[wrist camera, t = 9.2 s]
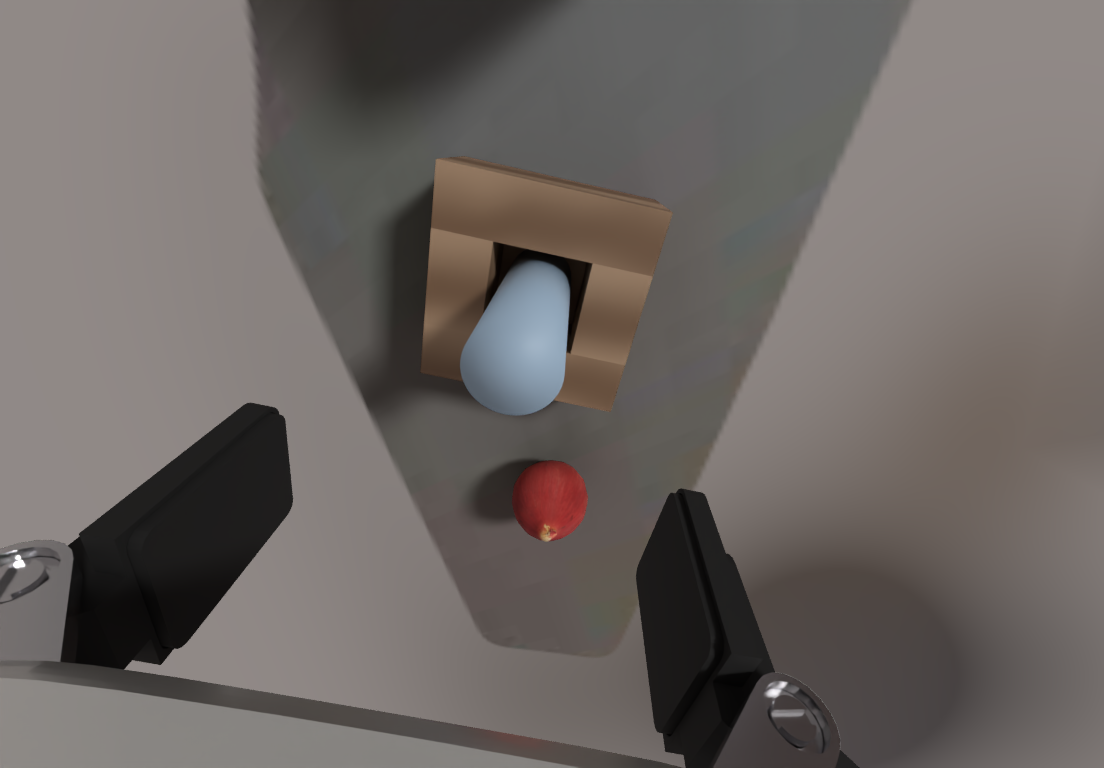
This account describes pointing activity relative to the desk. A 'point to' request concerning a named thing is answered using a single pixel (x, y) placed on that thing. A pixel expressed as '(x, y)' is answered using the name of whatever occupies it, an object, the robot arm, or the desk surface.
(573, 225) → the bore block
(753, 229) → the desk surface
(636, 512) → the desk surface
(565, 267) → the pin
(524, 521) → the onion
